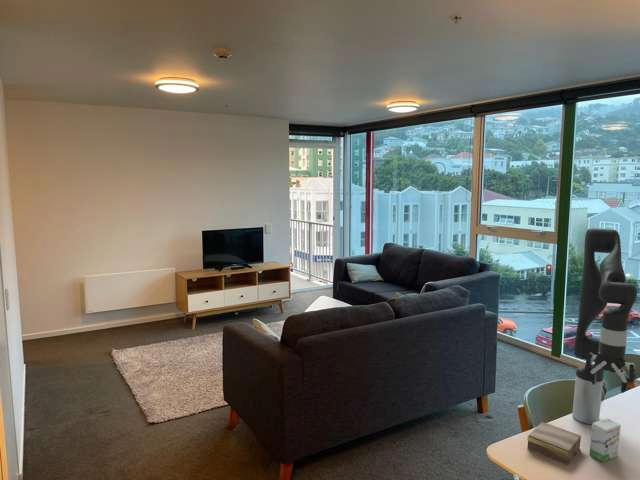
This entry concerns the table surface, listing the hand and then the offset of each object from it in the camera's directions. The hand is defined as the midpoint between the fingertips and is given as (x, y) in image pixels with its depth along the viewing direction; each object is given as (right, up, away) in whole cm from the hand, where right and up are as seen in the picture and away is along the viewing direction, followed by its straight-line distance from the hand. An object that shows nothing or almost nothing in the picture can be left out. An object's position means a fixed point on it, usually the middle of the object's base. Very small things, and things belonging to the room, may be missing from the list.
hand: (608, 387), depth 158 cm
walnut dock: (-15, -23, +7) cm, 29 cm away
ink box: (0, -24, +3) cm, 25 cm away
